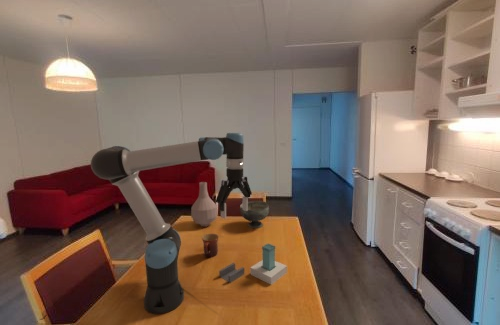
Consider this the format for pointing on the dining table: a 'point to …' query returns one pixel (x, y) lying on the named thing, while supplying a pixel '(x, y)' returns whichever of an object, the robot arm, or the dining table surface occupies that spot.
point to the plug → (268, 257)
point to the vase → (204, 207)
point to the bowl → (255, 213)
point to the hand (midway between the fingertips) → (234, 213)
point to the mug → (210, 245)
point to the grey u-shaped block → (231, 273)
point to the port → (268, 272)
